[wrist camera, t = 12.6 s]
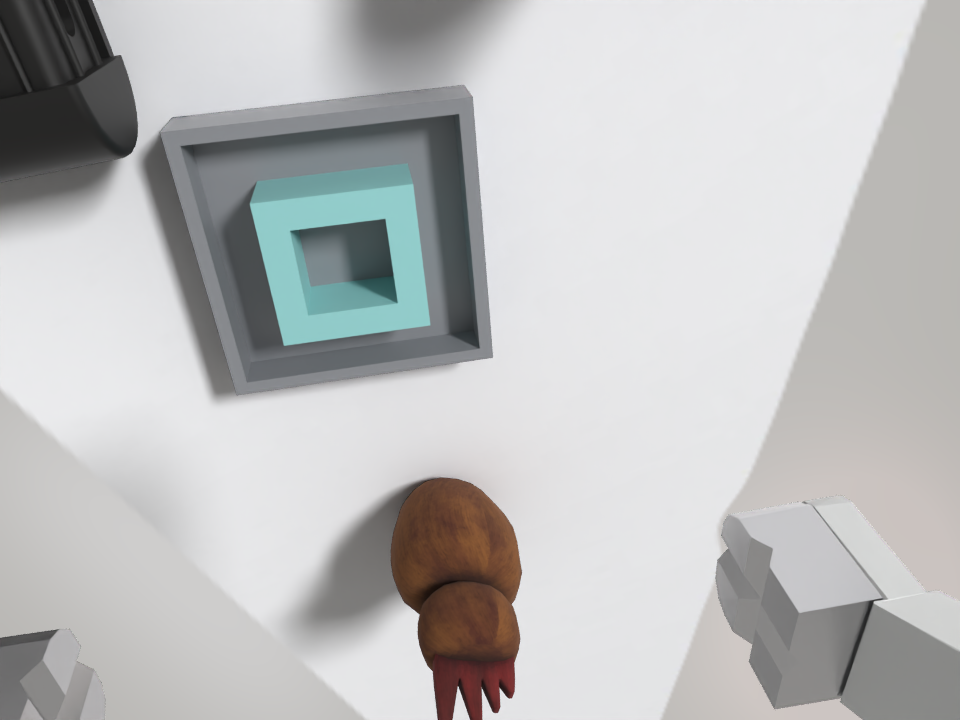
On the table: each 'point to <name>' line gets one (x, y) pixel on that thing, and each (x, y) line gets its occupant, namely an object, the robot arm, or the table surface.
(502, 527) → the wooden figurine
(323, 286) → the ring
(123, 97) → the end cap
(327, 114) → the tray
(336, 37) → the table surface
